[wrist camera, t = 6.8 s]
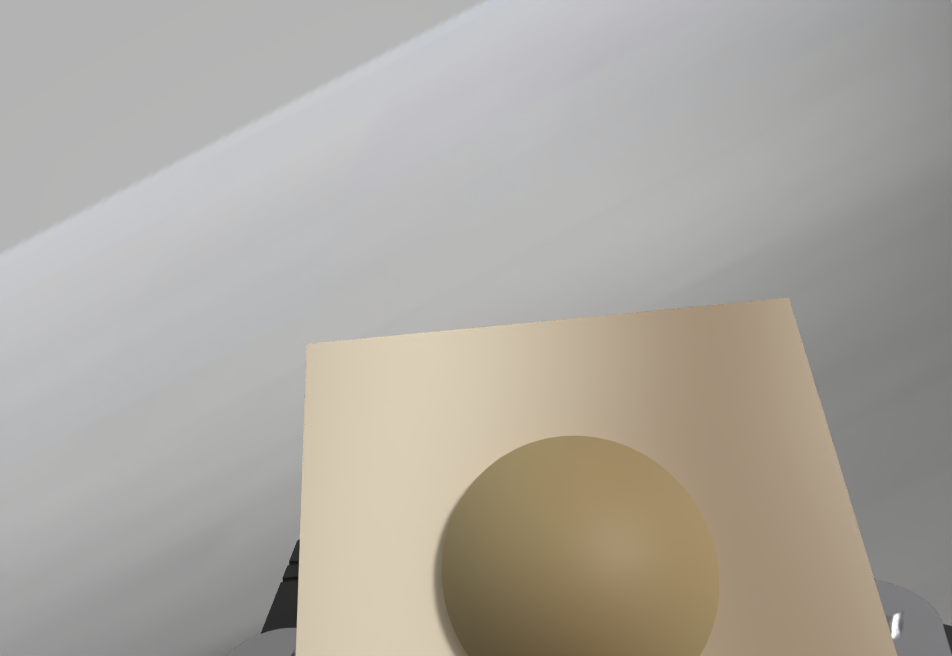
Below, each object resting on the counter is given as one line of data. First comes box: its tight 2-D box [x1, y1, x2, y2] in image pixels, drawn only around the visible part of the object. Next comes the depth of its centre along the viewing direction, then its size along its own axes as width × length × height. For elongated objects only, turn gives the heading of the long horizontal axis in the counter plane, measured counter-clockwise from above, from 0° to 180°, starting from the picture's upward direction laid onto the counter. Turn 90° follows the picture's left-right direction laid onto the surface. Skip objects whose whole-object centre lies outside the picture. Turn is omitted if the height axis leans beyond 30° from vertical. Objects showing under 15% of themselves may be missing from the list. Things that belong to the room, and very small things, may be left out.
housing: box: [296, 298, 897, 656], centre depth 11 cm, size 5×5×10 cm
